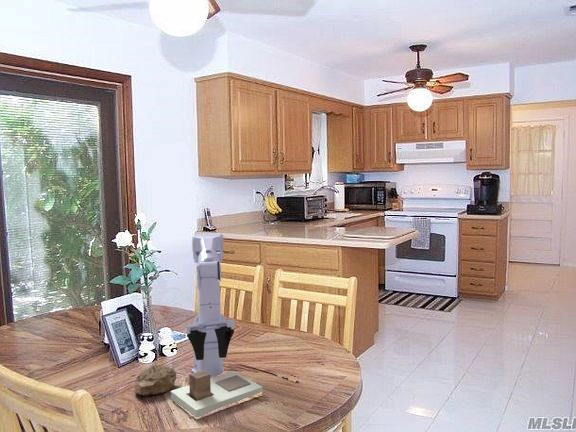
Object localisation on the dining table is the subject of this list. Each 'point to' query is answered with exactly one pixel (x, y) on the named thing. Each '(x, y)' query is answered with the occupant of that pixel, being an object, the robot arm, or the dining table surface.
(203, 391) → the block
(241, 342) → the dining table surface
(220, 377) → the board
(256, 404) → the dining table surface
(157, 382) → the rock
